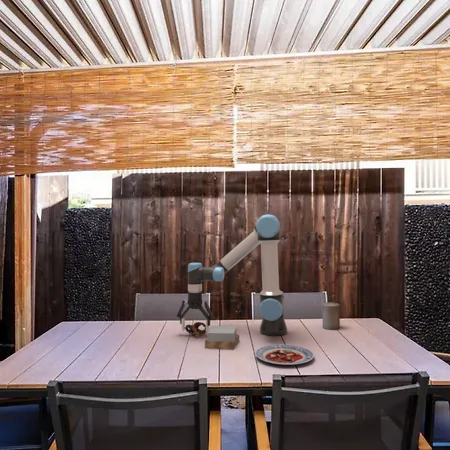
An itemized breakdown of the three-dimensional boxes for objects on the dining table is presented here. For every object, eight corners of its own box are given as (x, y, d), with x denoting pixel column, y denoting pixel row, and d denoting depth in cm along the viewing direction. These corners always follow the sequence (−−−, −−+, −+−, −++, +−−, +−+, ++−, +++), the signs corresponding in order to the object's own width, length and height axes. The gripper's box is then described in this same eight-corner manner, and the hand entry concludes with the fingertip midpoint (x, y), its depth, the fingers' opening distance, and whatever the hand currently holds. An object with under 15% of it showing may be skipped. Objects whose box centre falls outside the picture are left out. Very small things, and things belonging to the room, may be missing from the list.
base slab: (239, 342, 198) (239, 334, 198) (233, 350, 184) (232, 342, 184) (213, 340, 201) (213, 332, 201) (205, 348, 188) (204, 340, 188)
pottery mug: (205, 333, 215) (209, 322, 211) (203, 345, 206) (207, 334, 202) (184, 328, 214) (187, 317, 210) (181, 340, 206) (184, 329, 202)
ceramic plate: (301, 373, 154) (301, 366, 154) (245, 362, 168) (245, 355, 168) (321, 354, 176) (321, 348, 176) (270, 346, 190) (270, 340, 190)
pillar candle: (342, 327, 223) (341, 301, 223) (337, 331, 214) (336, 304, 215) (325, 324, 228) (325, 299, 228) (320, 328, 220) (319, 302, 220)
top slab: (236, 334, 198) (236, 326, 198) (234, 341, 185) (234, 333, 185) (211, 333, 200) (211, 326, 200) (207, 341, 187) (207, 333, 187)
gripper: (219, 291, 209) (219, 330, 208) (175, 289, 215) (176, 327, 215) (215, 293, 201) (215, 334, 201) (170, 291, 207) (170, 331, 207)
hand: (195, 331), depth 208 cm, fingers open, 13 cm apart
